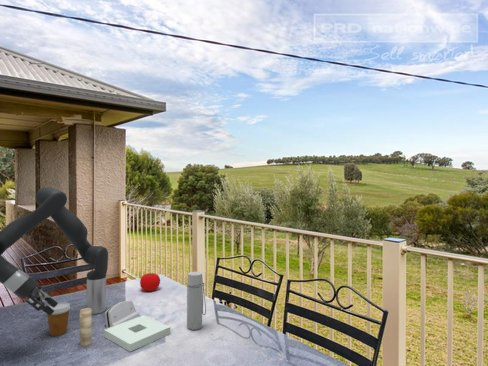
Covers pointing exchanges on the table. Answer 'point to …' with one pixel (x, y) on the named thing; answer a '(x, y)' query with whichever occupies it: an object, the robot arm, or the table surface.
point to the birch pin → (85, 326)
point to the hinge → (120, 313)
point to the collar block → (130, 339)
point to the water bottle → (195, 300)
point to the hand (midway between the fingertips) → (54, 309)
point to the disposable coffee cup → (59, 319)
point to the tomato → (149, 282)
